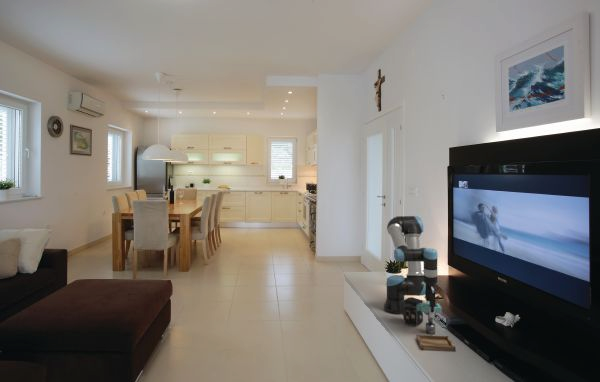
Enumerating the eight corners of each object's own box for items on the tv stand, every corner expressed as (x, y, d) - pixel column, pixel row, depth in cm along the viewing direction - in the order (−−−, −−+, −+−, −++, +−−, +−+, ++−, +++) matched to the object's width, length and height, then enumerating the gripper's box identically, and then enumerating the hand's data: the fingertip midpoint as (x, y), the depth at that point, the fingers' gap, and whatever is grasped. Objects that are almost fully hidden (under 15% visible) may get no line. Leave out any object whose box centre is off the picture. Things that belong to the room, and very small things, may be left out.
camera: (408, 318, 227) (408, 295, 227) (423, 323, 220) (423, 299, 219) (400, 323, 220) (399, 299, 220) (415, 328, 213) (415, 303, 212)
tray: (416, 338, 199) (416, 334, 199) (448, 339, 197) (448, 336, 197) (421, 349, 186) (421, 345, 186) (455, 351, 184) (455, 347, 184)
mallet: (424, 330, 209) (424, 310, 209) (434, 331, 208) (434, 310, 208) (426, 334, 204) (426, 313, 204) (436, 334, 203) (436, 314, 203)
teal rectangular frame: (438, 308, 209) (438, 303, 209) (441, 313, 202) (441, 308, 202) (415, 307, 210) (415, 302, 210) (418, 312, 204) (418, 307, 203)
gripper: (419, 270, 215) (419, 307, 217) (427, 280, 196) (427, 321, 197) (432, 271, 214) (432, 308, 216) (441, 281, 195) (441, 322, 196)
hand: (430, 314), depth 206 cm, fingers closed on teal rectangular frame, 7 cm apart
